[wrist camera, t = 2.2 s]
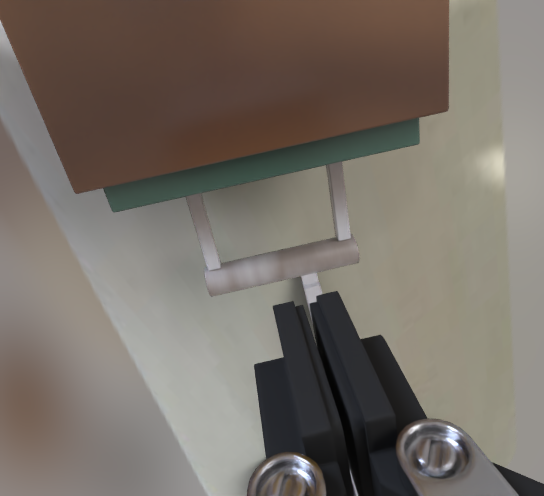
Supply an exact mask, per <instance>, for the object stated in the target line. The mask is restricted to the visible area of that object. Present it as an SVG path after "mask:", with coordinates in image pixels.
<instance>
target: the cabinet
mask: <svg viewBox="0 0 544 496" xmlns="http://www.w3.org/2000/svg"><path fill="white" fill-rule="evenodd" d="M0 20H1V23H2V25H3V27H4V30H5V32H6V34H7V37H8V39H9V41H10V44H11V46H12V48H13V51H14V53H15V55H16V57H17V60H18V62H19V64H20V67H21V69H22V71H23V74H24V76H25V78H26V81H27V83H28V85H29V88H30V90H31V92H32V95H33V97H34V99H35V102H36V104H37V106H38V109H39V111H40V113H41V116H42V118H43V120H44V123H45V125H46V127H47V130H48V132H49V134H50V137H51V139H52V141H53V143H54V146H55V148H56V150H57V153H58V155H59V157H60V160H61V162H62V164H63V167H64V169H65V171H66V174H67V176H68V178H69V181H70V183H71V185H72V188H73V190H74V192H75V193H76V194H79V193H84V192H88V191H93V190H97V189H102V188H106V187H111V186H115V185H120V184H124V183H128V182H133V181H137V180H142V179H146V178H151V177H155V176H160V175H164V174H169V173H173V172H178V171H182V170H187V169H191V168H196V167H200V166H205V165H209V164H214V163H218V162H223V161H227V160H232V159H236V158H241V157H245V156H250V155H254V154H259V153H263V152H268V151H272V150H277V149H281V148H285V147H290V146H294V145H299V144H303V143H308V142H312V141H317V140H321V139H326V138H330V137H335V136H339V135H344V134H348V133H353V132H357V131H362V130H366V129H371V128H375V127H380V126H384V125H389V124H393V123H398V122H402V121H407V120H411V119H416V118H420V117H425V116H429V115H434V114H438V113H442V112H446V111H448V109H449V0H0Z"/></svg>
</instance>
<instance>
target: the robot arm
mask: <svg viewBox="0 0 544 496" xmlns="http://www.w3.org/2000/svg"><path fill="white" fill-rule="evenodd" d="M316 301H317V302H313V303H309V306H310V311H311V317H312V322H313V328H314V333H315V339H316V343H315V340H314V337H313V334H312V331H311V328H310V325H309V322H308V319H307V316H306V312H305V309H304V306H303V305H300V306H296V307H295V305H294V302H293V301H292V302H287V303H283V304H279V305H274V306H273V310H274V314H275V319H276V323H277V328H278V332H279V337H280V341H281V346H282V351H283V355H284V357H283V358H279V359H275V360H271V361H266V362H262V363H258V364H254V369H255V377H256V385H257V392H258V400H259V407H260V415H261V422H262V430H263V438H264V445H265V453H266V460H264V461H263V462H262V463H261V464H260V465H259V466H258V467H257V468H256V469H255V471H254V473H253V475H252V476H251V478H250V481H249V486H248V490H247V496H354V492H353V486H352V480H351V474H352V478H353V481H354V484H355V487H356V490H357V494H358V496H544V484H542V483H540V482H537V481H535V480H533V479H530V478H528V477H526V476H523V475H521V474H518V473H516V472H514V471H511V470H509V469H507V468H504V467H502V466H500V465H497V464H495V463H492V462H491V461H490V460H489V459H488V458H487V456H486V455H485V454H484V453H483V452H482V450H481V449H480V448H479V447H478V446H477V444H476V443H475V442H474V441H473V440H472V438H471V437H470V436H469V435H468V434H467V433H466V432H464V431H463V430H462V429H461V428H460V427H458V426H456V425H454V424H452V423H450V422H447V421H443V420H440V419H427V417H426V415H425V413H424V411H423V409H422V408H421V406H420V404H419V402H418V400H417V398H416V396H415V395H414V393H413V391H412V389H411V387H410V385H409V384H408V382H407V380H406V378H405V376H404V374H403V372H402V371H401V369H400V367H399V365H398V363H397V361H396V360H395V358H394V356H393V354H392V352H391V350H390V348H389V347H388V345H387V343H386V341H385V339H384V338H383V336H381V335H377V336H373V337H369V338H365V339H360V338H359V336H358V334H357V331H356V329H355V327H354V325H353V323H352V321H351V319H350V316H349V314H348V312H347V310H346V308H345V306H344V304H343V301H342V299H341V297H340V295H339V293H338V291H335V292H331V293H326V294H322V295H318V296H316ZM316 344H317V346H316ZM350 471H351V474H350Z"/></svg>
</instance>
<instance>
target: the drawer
mask: <svg viewBox="0 0 544 496" xmlns="http://www.w3.org/2000/svg"><path fill="white" fill-rule="evenodd" d="M419 142H420V138H419V118H416V119H411V120H407V121H402V122H398V123H393V124H389V125H384V126H380V127H375V128H371V129H366V130H362V131H357V132H353V133H348V134H344V135H339V136H335V137H330V138H326V139H321V140H317V141H312V142H308V143H303V144H299V145H294V146H290V147H285V148H281V149H277V150H272V151H268V152H263V153H259V154H254V155H250V156H245V157H241V158H236V159H232V160H227V161H223V162H218V163H214V164H209V165H205V166H200V167H196V168H191V169H187V170H182V171H178V172H173V173H169V174H164V175H160V176H155V177H151V178H146V179H142V180H137V181H133V182H128V183H124V184H120V185H115V186H111V187H106V188H103V189H104V192H105V194H106V197H107V199H108V202H109V204H110V207H111V209H112V211H113V212H119V211H123V210H128V209H132V208H137V207H141V206H146V205H150V204H154V203H159V202H163V201H168V200H172V199H177V198H181V197H186V199H187V203H188V206H189V209H190V213H191V216H192V219H193V222H194V226H195V229H196V232H197V236H198V239H199V242H200V246H201V249H202V252H203V256H204V259H205V262H206V265H207V267H205V268H204V275H205V281H206V285H207V289H208V292H209V294H210V296H217V295H221V294H226V293H230V292H234V291H239V290H243V289H247V288H252V287H256V286H260V285H265V284H269V283H273V282H278V281H282V280H286V279H291V278H295V277H300V276H304V275H308V274H313V273H317V272H321V271H326V270H330V269H334V268H339V267H343V266H347V265H352V264H356V263H359V258H360V257H359V250H358V245H357V242H356V239H355V237H354V236H353V234H350V226H349V217H348V209H347V200H346V191H345V183H344V174H343V165H342V161H346V160H351V159H355V158H360V157H364V156H368V155H373V154H377V153H382V152H386V151H391V150H395V149H400V148H404V147H409V146H413V145H417V144H419ZM324 165H326V169H327V177H328V184H329V192H330V199H331V207H332V214H333V221H334V229H335V236H336V237H334V238H330V239H326V240H321V241H317V242H312V243H308V244H304V245H299V246H295V247H290V248H286V249H282V250H277V251H273V252H269V253H264V254H260V255H255V256H251V257H247V258H242V259H238V260H233V261H229V262H225V263H221V261H220V258H219V254H218V251H217V247H216V244H215V240H214V237H213V233H212V230H211V226H210V223H209V219H208V216H207V212H206V209H205V205H204V201H203V198H202V194H201V193H204V192H208V191H212V190H217V189H221V188H226V187H230V186H235V185H239V184H244V183H248V182H253V181H257V180H261V179H266V178H270V177H275V176H279V175H284V174H288V173H293V172H297V171H302V170H306V169H311V168H315V167H319V166H324Z"/></svg>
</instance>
